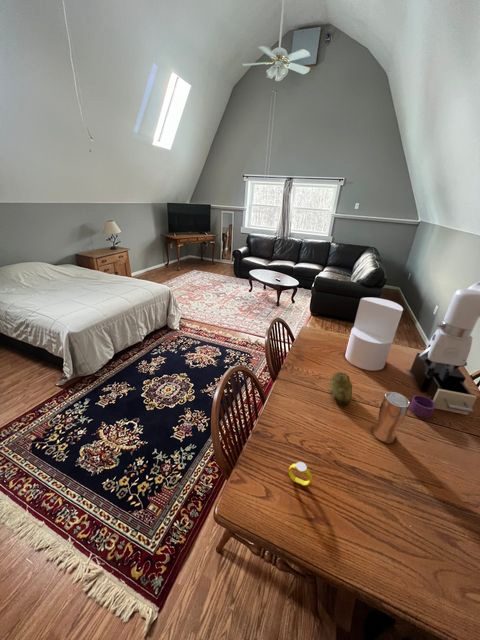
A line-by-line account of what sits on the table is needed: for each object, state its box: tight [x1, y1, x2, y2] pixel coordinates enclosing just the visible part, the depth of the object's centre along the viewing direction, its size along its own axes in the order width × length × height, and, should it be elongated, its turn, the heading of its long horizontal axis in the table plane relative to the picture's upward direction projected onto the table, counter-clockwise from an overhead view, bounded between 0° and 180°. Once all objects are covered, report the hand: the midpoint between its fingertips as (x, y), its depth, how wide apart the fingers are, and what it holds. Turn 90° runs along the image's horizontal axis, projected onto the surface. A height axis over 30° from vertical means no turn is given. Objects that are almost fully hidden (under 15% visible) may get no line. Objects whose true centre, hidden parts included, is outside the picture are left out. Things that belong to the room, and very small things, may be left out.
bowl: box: [409, 394, 436, 419], centre depth 96 cm, size 7×7×5 cm
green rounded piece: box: [330, 371, 353, 407], centre depth 100 cm, size 8×13×8 cm, turn 155°
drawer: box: [424, 374, 478, 416], centre depth 98 cm, size 18×11×8 cm, turn 164°
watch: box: [287, 461, 313, 487], centre depth 70 cm, size 6×3×6 cm, turn 61°
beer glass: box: [372, 391, 411, 444], centre depth 83 cm, size 7×7×15 cm
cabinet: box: [409, 352, 466, 393], centre depth 110 cm, size 14×13×10 cm
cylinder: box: [345, 297, 404, 371], centre depth 120 cm, size 17×17×28 cm
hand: (434, 377), depth 90 cm, fingers open, 3 cm apart
